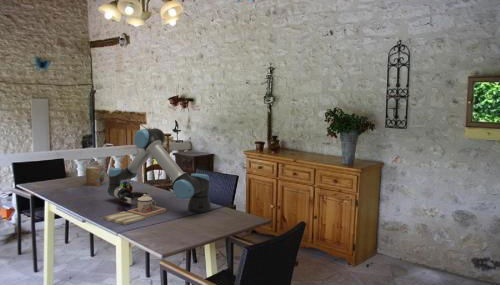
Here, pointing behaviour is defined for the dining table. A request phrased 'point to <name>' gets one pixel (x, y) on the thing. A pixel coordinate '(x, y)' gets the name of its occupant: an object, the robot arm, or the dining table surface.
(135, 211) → the wooden picture frame
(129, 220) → the ash board
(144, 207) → the teacup with lid
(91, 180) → the milk carton
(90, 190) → the dining table surface
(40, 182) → the dining table surface
